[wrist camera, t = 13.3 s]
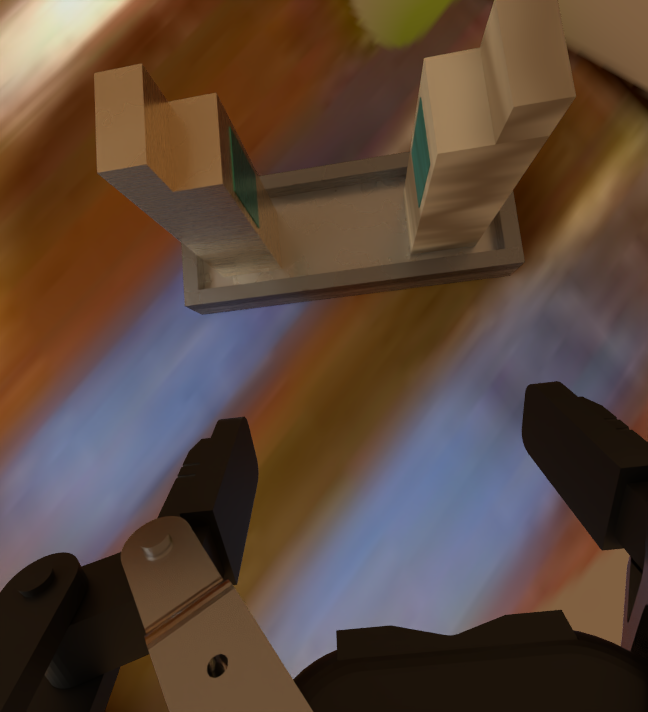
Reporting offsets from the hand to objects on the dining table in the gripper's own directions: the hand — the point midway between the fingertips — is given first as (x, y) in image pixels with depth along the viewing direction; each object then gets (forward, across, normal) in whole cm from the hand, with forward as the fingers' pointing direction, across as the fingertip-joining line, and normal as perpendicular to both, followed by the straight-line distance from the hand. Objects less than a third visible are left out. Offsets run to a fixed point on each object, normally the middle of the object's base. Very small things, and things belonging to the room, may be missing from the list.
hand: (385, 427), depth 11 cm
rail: (+20, 0, -2) cm, 20 cm away
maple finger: (+18, -7, -3) cm, 20 cm away
